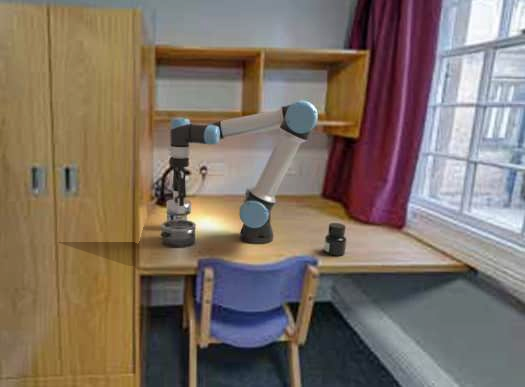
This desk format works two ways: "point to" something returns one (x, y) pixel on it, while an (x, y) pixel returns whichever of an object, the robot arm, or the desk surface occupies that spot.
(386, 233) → the desk surface
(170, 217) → the ink box
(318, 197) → the desk surface
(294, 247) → the desk surface
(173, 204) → the lid
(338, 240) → the ink bottle
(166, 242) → the pot
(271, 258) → the desk surface
